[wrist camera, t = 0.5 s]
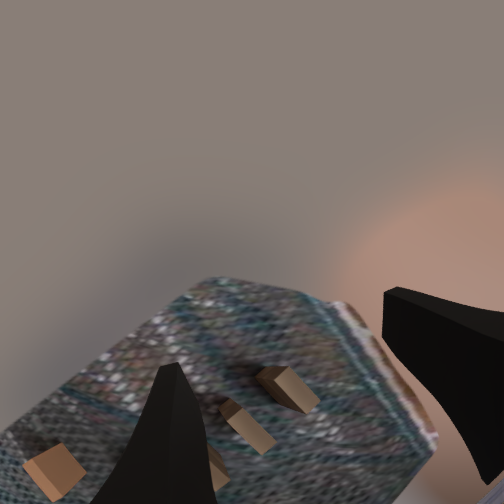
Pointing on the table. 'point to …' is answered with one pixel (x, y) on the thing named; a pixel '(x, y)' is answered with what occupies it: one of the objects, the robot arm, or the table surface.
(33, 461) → the domino
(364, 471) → the table surface
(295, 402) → the domino
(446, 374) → the robot arm
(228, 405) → the domino
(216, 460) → the domino
